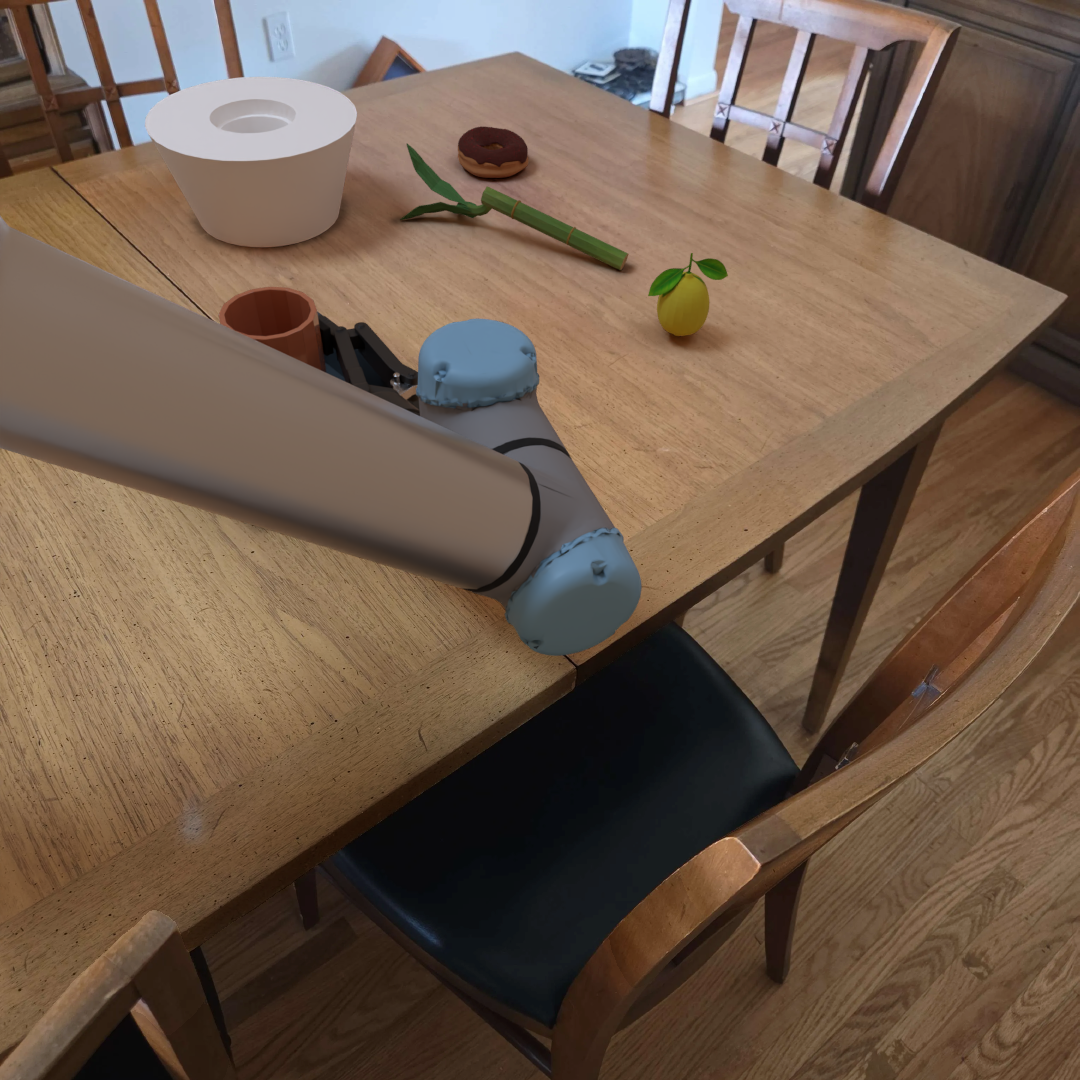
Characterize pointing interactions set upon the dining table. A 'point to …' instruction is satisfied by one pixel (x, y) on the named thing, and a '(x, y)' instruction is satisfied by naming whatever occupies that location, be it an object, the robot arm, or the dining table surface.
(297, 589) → the dining table surface
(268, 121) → the white tapered round pot
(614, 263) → the decorative plant
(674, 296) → the lemon
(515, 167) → the donut
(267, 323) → the cup
